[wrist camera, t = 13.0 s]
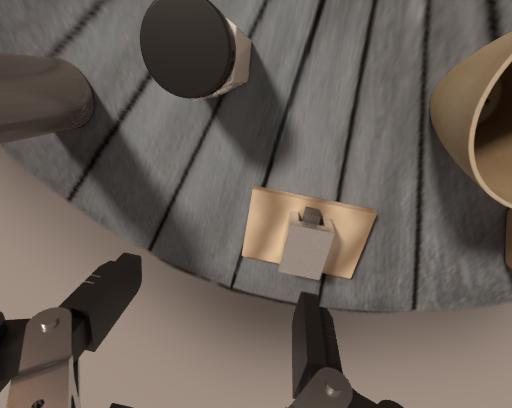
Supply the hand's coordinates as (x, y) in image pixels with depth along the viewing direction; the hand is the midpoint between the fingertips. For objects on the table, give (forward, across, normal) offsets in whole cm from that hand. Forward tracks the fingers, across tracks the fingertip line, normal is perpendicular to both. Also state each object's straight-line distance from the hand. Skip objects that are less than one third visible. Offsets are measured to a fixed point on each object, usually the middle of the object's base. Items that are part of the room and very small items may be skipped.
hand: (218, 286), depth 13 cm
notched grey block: (+26, -8, +11) cm, 29 cm away
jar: (+28, +8, -10) cm, 31 cm away
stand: (+27, -8, +11) cm, 31 cm away
